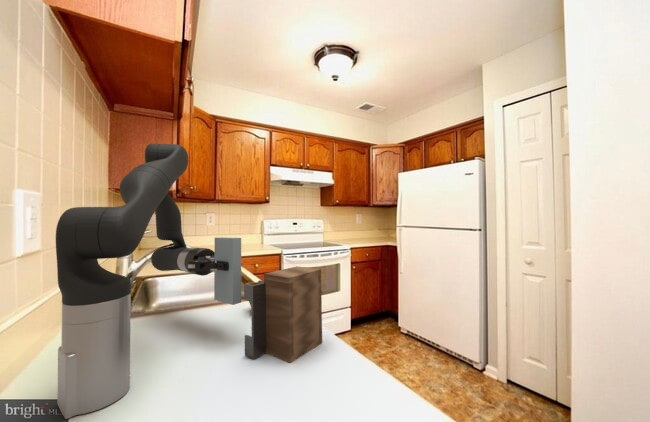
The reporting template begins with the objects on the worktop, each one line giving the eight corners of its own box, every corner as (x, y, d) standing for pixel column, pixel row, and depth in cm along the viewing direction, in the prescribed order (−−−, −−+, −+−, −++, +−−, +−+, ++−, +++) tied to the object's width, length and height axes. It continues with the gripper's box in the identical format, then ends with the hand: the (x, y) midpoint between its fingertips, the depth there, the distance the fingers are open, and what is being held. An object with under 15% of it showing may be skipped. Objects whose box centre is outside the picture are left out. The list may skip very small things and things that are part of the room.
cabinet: (289, 363, 57) (288, 277, 57) (264, 352, 62) (263, 273, 62) (322, 342, 66) (321, 269, 67) (298, 334, 71) (297, 266, 71)
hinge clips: (253, 360, 58) (253, 286, 59) (244, 355, 60) (244, 284, 61) (269, 351, 62) (268, 281, 63) (260, 347, 64) (260, 280, 64)
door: (232, 304, 65) (232, 238, 65) (214, 299, 69) (214, 237, 70) (241, 302, 67) (241, 237, 67) (222, 297, 71) (222, 237, 72)
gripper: (171, 249, 72) (206, 253, 62) (219, 245, 83) (255, 248, 73) (171, 278, 72) (206, 286, 61) (219, 270, 83) (255, 276, 72)
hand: (232, 265), depth 67 cm, fingers closed on door, 2 cm apart
